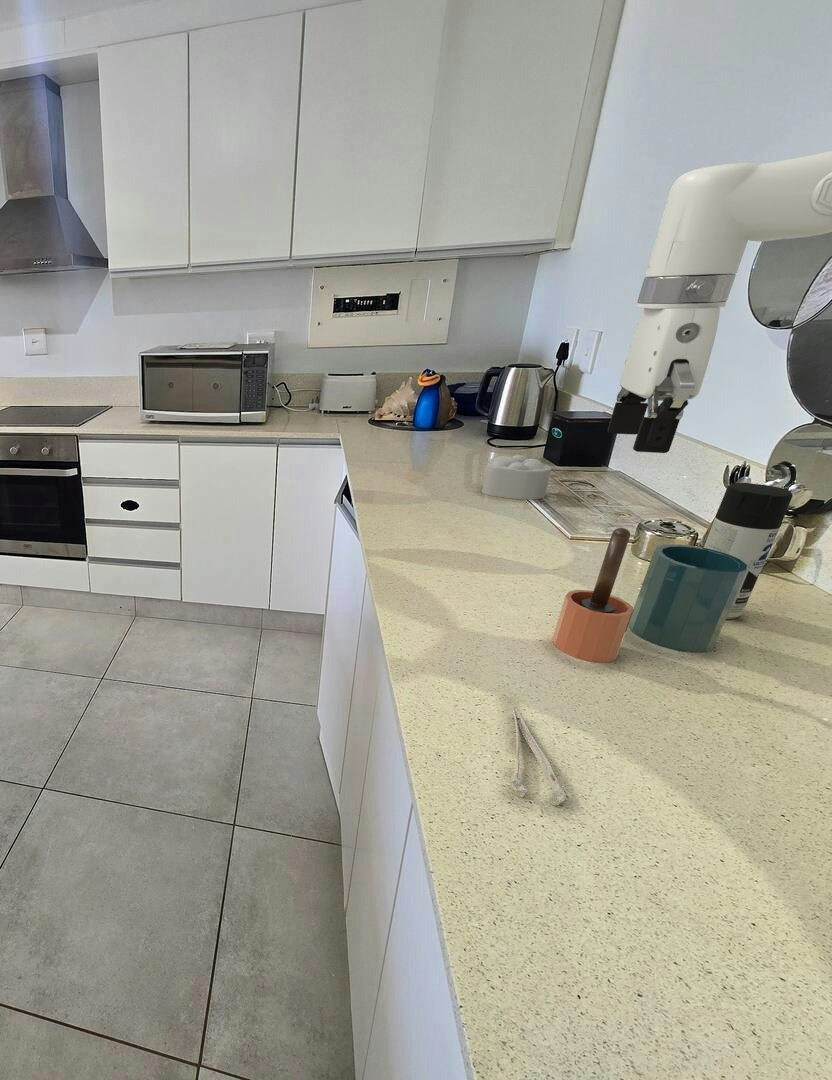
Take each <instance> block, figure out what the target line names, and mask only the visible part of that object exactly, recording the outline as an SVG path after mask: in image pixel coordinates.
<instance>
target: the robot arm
mask: <svg viewBox="0 0 832 1080" xmlns="http://www.w3.org/2000/svg"><path fill="white" fill-rule="evenodd" d="M829 233H832V150H829V151H825V152H824V151H823V152H819V153H815V154H811V155H806V156H800V157H795V158H794V157H793V158H790V159H783V160H777V161H772V162H763V163H762V162H757V161H756V162H755V161H753V162H752V161H751V162H750V161H749V162H745V161H744V162H732V163H724V164H717V165H711V166H704V167H700V168H695V169H692V170H690V171H687V172H684V173H683V174H682V175H680V176H678V178H677V179H675V181H674V182H673V184H672V185H671V187H670V191H669V193H668V196H667V199H666V201H665V206H664V210H663V214H662V216H661V220H660V223H659V227H658V230H657V233H656V236H655V240H654V243H653V247H652V251H651V254H650V257H649V261H648V264H647V267H646V271H645V274H644V278H643V281H642V285H641V287H640V291H639V295H638V298H637V301H636V305H635V309H643V310H642V312H641V315H640V318H639V320H638V323H637V325H636V327H635V331H634V334H633V335H632V339H631V342H630V345H629V348H628V351H627V354H626V358H625V360H624V364H623V368H622V372H621V376H620V382H619V383H620V387H621V389H620V390H619V391H618V393H617V395H616V402H615V403H614V408H613V411H612V413H611V417H610V420H609V423H608V427H607V433H609V434H612V435H613V434H614V435H634V436H635V435H636V437H635V441H634V443H633V447H632V449H633V450H634V451H635V452H637V453H655V454H667V453H669V451H670V450H671V447H672V444H673V442H674V438H675V436H676V432H677V430H678V427H679V424H680V421H681V419H682V418H683V416H684V412H685V411H684V409H685V408H686V407H687V406H688V405H689V400H693V399H694V398H697V396H698V395H699V394H700V391H701V388H702V386H703V382H704V378H705V376H706V373H707V370H708V369H707V368H708V365H709V362H710V359H711V355H712V352H713V348H714V344H715V340H716V336H717V331H718V326H719V320H720V313H721V308H724V307H726V304H727V301H728V299H729V296H730V293H731V291H732V287H733V286H734V285H733V284H734V281H735V279H736V276H737V273H738V270H739V267H740V265H741V262H742V259H743V257H744V253H745V250H746V247H747V245H748V242H749V241H751V242H771V241H778V240H791V239H801V238H810V237H817V236H821V235H826V234H829ZM646 401H647V402H646ZM659 401H661V403H660V404H659ZM646 413H647V416H646Z"/></svg>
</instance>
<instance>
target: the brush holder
mask: <svg viewBox="0 0 832 1080" xmlns="http://www.w3.org/2000/svg"><path fill="white" fill-rule="evenodd" d="M593 591H594V590H589V589H575V590H570V591H568V592H567V593H566V594H565V596H564V598H563V602H562V606H561V609H560V613H559V614H558V615H559V616H558V618H557V622H556V626H555V630H554V632H553V635H552V639H551V640H552V643H553V645H554V646H555V648H557V649H558V650H559V651H560V652H562V653H564V654H566V655H568V656H570V657H573V658H575V659H577V660H581V661H585V662H591V663H596V664H597V663H598V664H603V663H605V664H606V663H611V662H613V661H615V660H616V659H617V657H618V655H619V653H620V650H621V647H622V644H623V641H624V639H625V636H626V634H627V633H626V632H627V630H628V629H629V627H628V625H629V622H630V619H631V616H632V614H633V611H634V607H633V606H632V605H631V604H630V602H627V601H625V600H624V599H622V598H620V597H617V596H616V595H612V594H611V595H610V597H609V600H608V603H609V604H611V605H613V606H614V608H615V610H614V613H613V614H612V613H603V612H598V611H594V610H591V609H588V608H585V607H582V606H580V605H581V601H582V600H584V599H591V597H592V594H593Z"/></svg>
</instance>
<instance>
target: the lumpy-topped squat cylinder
mask: <svg viewBox="0 0 832 1080" xmlns="http://www.w3.org/2000/svg"><path fill="white" fill-rule="evenodd" d="M552 471H553V469H552V467H551V466H549V465H548V464H544V463H543V462H542V461H541V460H540V459H537V458H528V457H526V456H524V455H522V454H515V455H513V456H508V455H498V456H496V457H493V458H489V460H488V463H487V465H486V470H485V475H484V480H483V484H482V488H481V493H482V494H483V495H484V494H485V495H487V496H492V497H496V498H497V497H498V498H504V499H512V500H523V501H525V500H530V501H531V500H539V499H540V500H541V499H544V498H545V497H546V494H547V489H548V485H549V481H550V477H551V474H552Z"/></svg>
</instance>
